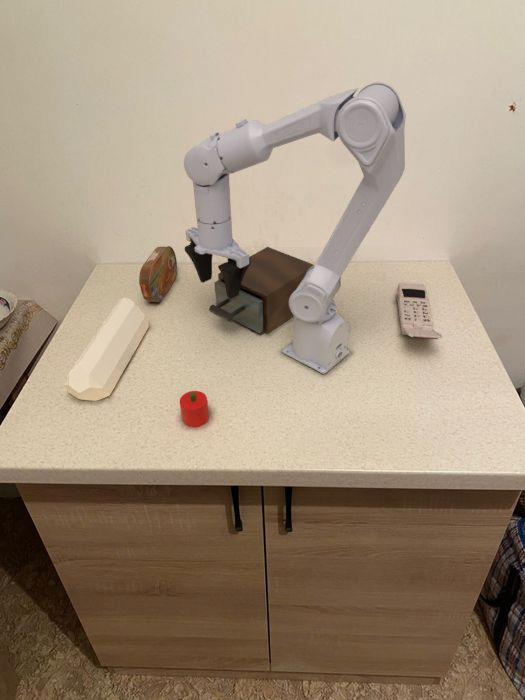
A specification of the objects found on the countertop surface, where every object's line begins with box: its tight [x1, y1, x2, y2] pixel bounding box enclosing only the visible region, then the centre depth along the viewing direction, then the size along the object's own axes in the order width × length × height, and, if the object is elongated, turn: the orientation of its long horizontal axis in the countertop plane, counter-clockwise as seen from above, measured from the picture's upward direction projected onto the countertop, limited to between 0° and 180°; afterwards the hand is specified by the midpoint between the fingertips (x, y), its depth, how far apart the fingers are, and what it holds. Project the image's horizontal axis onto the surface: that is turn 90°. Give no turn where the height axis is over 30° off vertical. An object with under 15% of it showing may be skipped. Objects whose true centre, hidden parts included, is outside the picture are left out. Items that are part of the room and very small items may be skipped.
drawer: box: [208, 279, 265, 334], centre depth 98 cm, size 18×11×7 cm, turn 138°
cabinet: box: [217, 246, 315, 335], centre depth 101 cm, size 15×13×9 cm
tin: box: [138, 245, 178, 303], centre depth 107 cm, size 15×3×8 cm, turn 168°
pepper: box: [179, 390, 210, 428], centre depth 78 cm, size 4×4×5 cm
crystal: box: [63, 296, 150, 402], centre depth 89 cm, size 7×7×24 cm
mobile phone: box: [396, 282, 443, 340], centre depth 96 cm, size 6×6×25 cm
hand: (219, 287), depth 91 cm, fingers open, 7 cm apart
